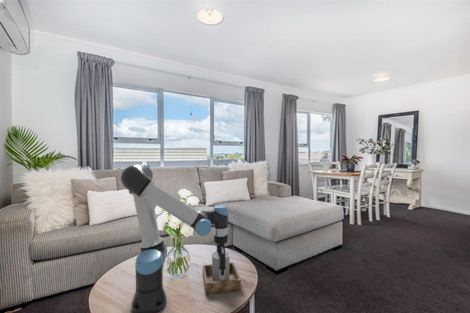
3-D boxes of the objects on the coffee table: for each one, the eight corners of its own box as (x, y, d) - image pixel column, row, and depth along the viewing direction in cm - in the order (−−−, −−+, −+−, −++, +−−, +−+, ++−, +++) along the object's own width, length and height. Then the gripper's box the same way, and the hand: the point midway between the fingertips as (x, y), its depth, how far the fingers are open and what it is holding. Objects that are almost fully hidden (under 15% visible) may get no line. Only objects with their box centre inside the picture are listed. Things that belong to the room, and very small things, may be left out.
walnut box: (205, 294, 116) (205, 283, 116) (202, 274, 134) (202, 265, 134) (240, 290, 120) (240, 279, 119) (233, 271, 138) (233, 262, 138)
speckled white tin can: (227, 283, 121) (227, 259, 121) (209, 281, 123) (209, 258, 123) (231, 273, 131) (231, 252, 130) (214, 271, 133) (214, 250, 132)
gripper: (231, 241, 116) (231, 286, 117) (224, 227, 138) (224, 264, 138) (216, 243, 115) (216, 288, 115) (211, 228, 136) (211, 266, 137)
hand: (220, 275), depth 127 cm, fingers closed on speckled white tin can, 9 cm apart
